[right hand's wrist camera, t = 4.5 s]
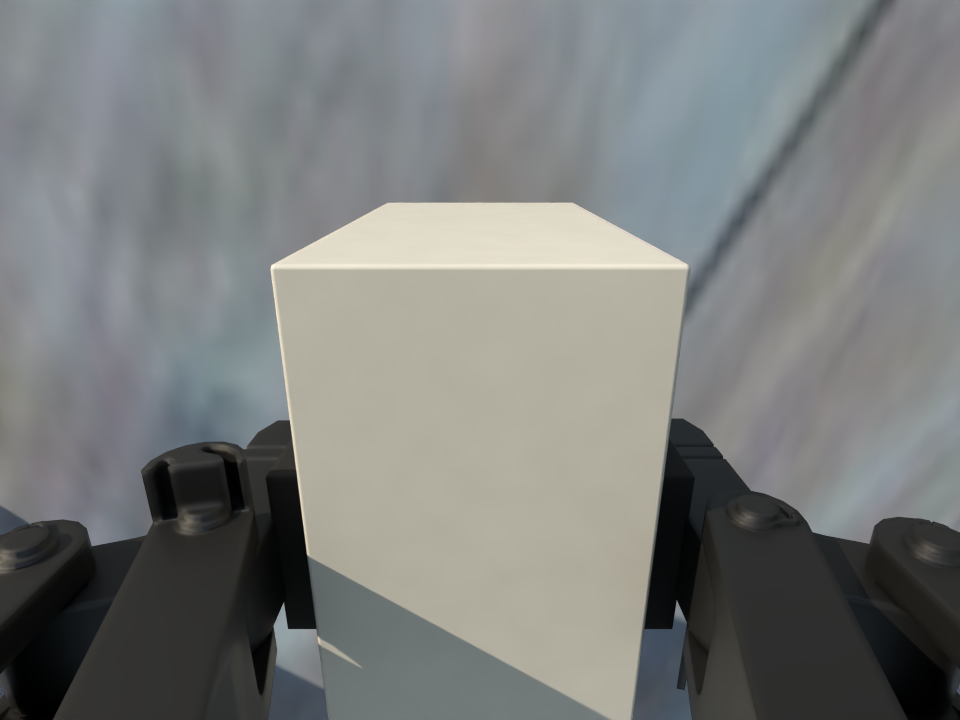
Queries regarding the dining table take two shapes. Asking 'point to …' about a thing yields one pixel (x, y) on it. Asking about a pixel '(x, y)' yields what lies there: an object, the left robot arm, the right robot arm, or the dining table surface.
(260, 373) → the dining table surface
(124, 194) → the dining table surface
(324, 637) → the bar
